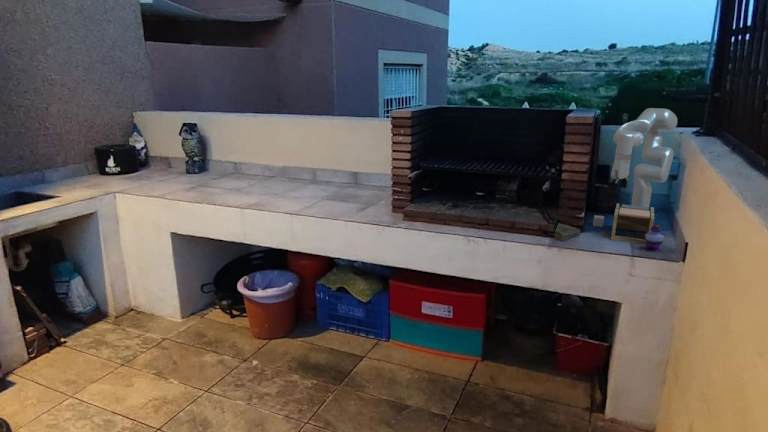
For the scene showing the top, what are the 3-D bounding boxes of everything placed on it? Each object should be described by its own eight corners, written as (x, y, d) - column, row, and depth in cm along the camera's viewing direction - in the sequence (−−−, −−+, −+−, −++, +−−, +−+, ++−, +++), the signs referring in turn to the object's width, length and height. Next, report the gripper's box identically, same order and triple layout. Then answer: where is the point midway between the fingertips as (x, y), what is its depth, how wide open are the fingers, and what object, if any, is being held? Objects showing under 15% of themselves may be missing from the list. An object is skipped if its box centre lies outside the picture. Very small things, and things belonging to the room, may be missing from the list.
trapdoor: (619, 211, 271) (620, 204, 270) (649, 214, 265) (650, 207, 264) (617, 219, 256) (618, 212, 255) (649, 223, 250) (650, 215, 249)
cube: (593, 223, 283) (594, 215, 282) (603, 224, 281) (604, 216, 280) (592, 225, 279) (593, 217, 278) (602, 227, 277) (603, 218, 276)
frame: (613, 226, 278) (617, 202, 274) (649, 231, 270) (653, 206, 266) (610, 239, 257) (614, 213, 253) (650, 245, 249) (654, 218, 245)
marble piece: (562, 242, 254) (563, 234, 253) (539, 234, 266) (540, 227, 264) (582, 236, 263) (583, 228, 262) (559, 229, 275) (560, 221, 273)
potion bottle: (664, 252, 239) (668, 228, 235) (644, 250, 241) (648, 227, 237) (660, 246, 247) (664, 223, 243) (640, 245, 249) (644, 222, 245)
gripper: (624, 154, 268) (620, 185, 272) (607, 157, 257) (603, 189, 262) (638, 156, 262) (633, 188, 267) (621, 159, 252) (616, 192, 257)
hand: (618, 188), depth 264 cm, fingers open, 9 cm apart
